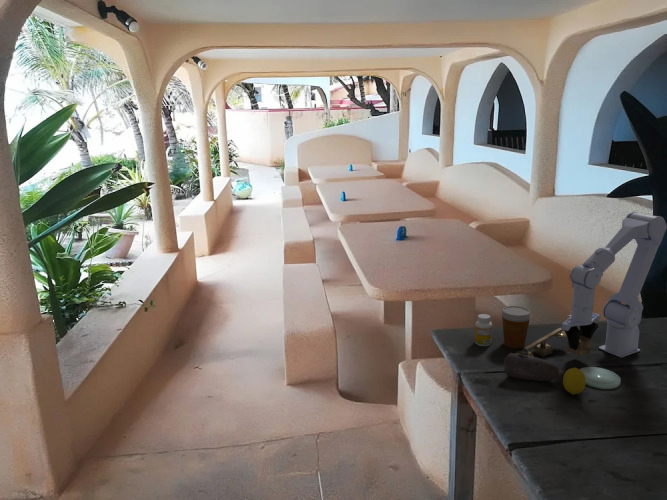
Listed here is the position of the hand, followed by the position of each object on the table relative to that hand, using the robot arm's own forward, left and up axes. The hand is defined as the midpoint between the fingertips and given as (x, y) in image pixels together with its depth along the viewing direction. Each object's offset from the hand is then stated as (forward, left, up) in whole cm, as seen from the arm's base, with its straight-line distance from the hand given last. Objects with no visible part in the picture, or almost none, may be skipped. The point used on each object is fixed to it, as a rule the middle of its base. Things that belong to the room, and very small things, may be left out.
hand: (578, 346), depth 160 cm
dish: (+5, +11, -4) cm, 13 cm away
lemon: (+18, +13, -5) cm, 23 cm away
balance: (+5, -9, -4) cm, 11 cm away
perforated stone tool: (+21, +1, -5) cm, 22 cm away
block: (0, 0, -2) cm, 2 cm away
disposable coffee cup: (+8, -18, -5) cm, 20 cm away
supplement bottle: (+16, -24, -5) cm, 29 cm away
